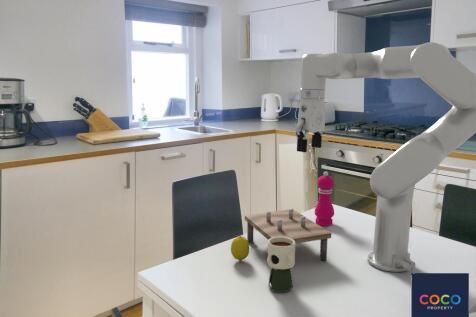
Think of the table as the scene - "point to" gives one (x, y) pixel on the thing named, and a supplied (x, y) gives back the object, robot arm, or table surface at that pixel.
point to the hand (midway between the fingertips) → (309, 149)
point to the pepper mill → (324, 201)
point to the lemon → (240, 248)
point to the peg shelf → (288, 228)
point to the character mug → (281, 262)
